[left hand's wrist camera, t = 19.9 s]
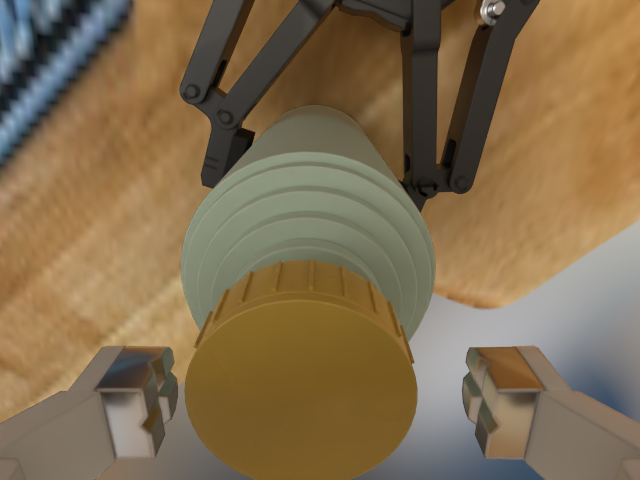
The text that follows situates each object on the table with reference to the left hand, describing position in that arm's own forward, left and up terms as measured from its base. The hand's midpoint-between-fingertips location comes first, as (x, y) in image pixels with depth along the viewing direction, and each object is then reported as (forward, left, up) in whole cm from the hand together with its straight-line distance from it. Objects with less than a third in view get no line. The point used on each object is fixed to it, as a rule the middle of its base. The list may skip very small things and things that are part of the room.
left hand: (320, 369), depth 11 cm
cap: (+1, 0, +2) cm, 2 cm away
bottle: (+1, 0, -21) cm, 21 cm away
